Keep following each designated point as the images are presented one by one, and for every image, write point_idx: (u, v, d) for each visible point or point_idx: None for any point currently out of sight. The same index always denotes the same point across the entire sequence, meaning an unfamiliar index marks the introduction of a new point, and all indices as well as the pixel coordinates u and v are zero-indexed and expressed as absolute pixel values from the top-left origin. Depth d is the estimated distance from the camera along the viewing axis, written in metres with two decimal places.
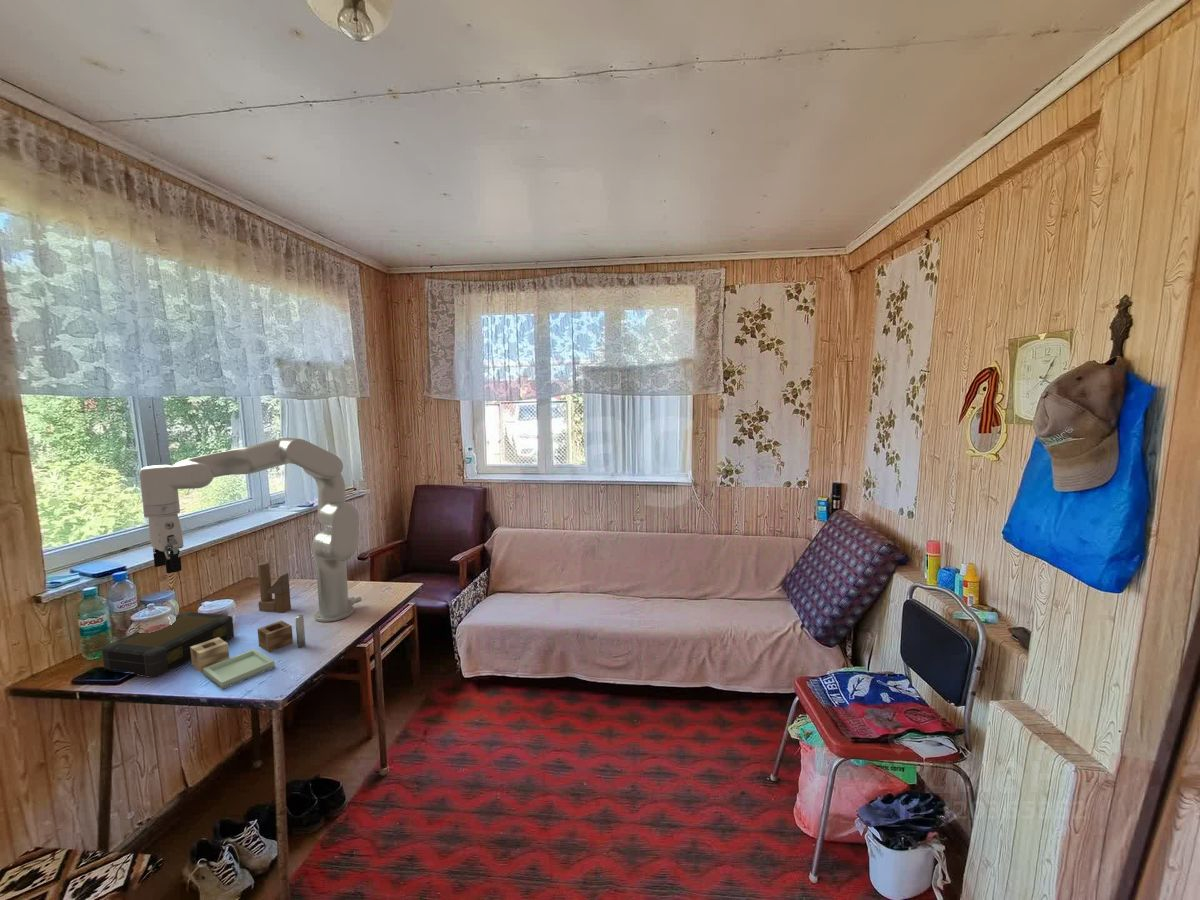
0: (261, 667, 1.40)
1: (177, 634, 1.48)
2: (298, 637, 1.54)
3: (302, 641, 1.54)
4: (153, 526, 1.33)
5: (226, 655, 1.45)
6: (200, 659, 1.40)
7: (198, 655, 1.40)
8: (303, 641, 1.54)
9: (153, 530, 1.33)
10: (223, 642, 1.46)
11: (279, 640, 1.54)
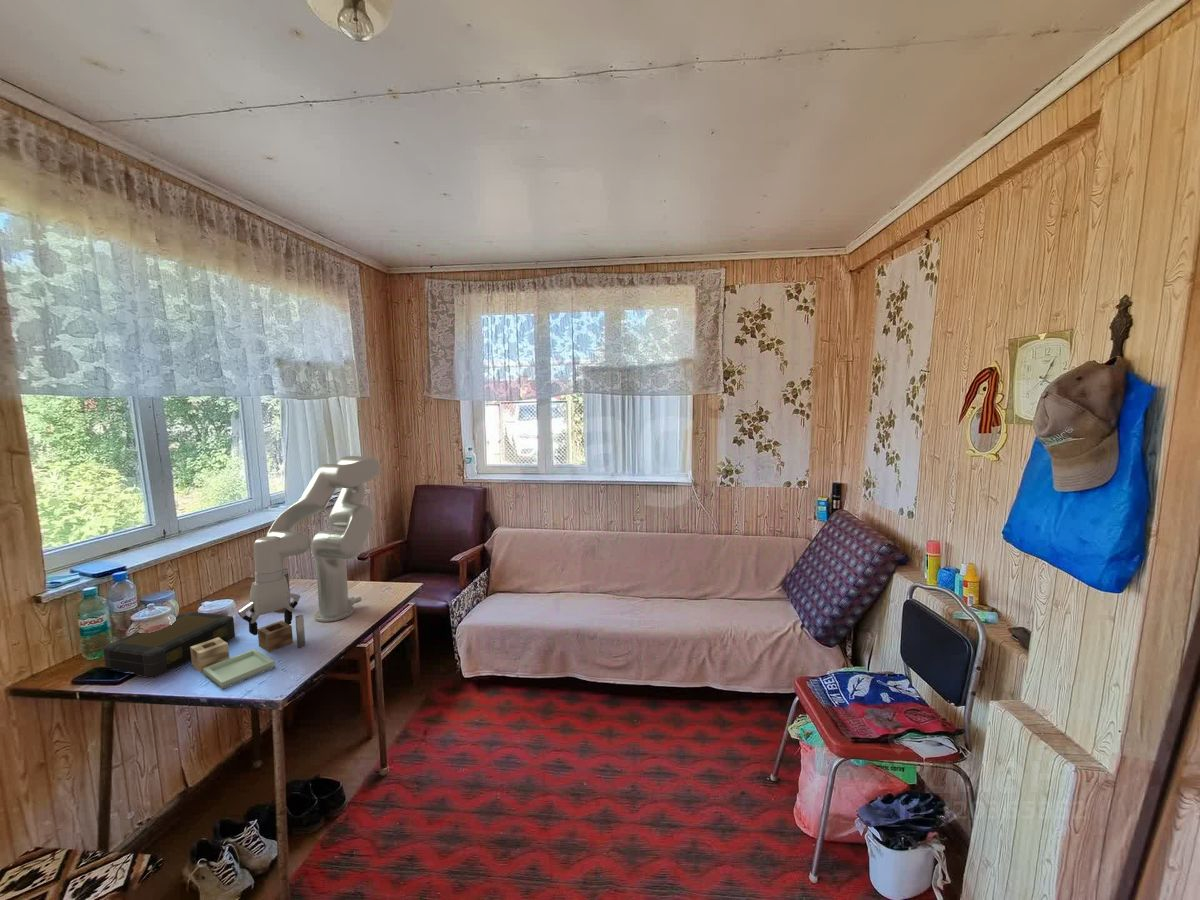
0: (261, 667, 1.40)
1: (177, 634, 1.48)
2: (298, 637, 1.54)
3: (302, 641, 1.54)
4: (278, 589, 1.53)
5: (226, 655, 1.45)
6: (200, 659, 1.40)
7: (198, 655, 1.40)
8: (303, 641, 1.54)
9: (277, 593, 1.53)
10: (223, 642, 1.46)
11: (279, 640, 1.54)
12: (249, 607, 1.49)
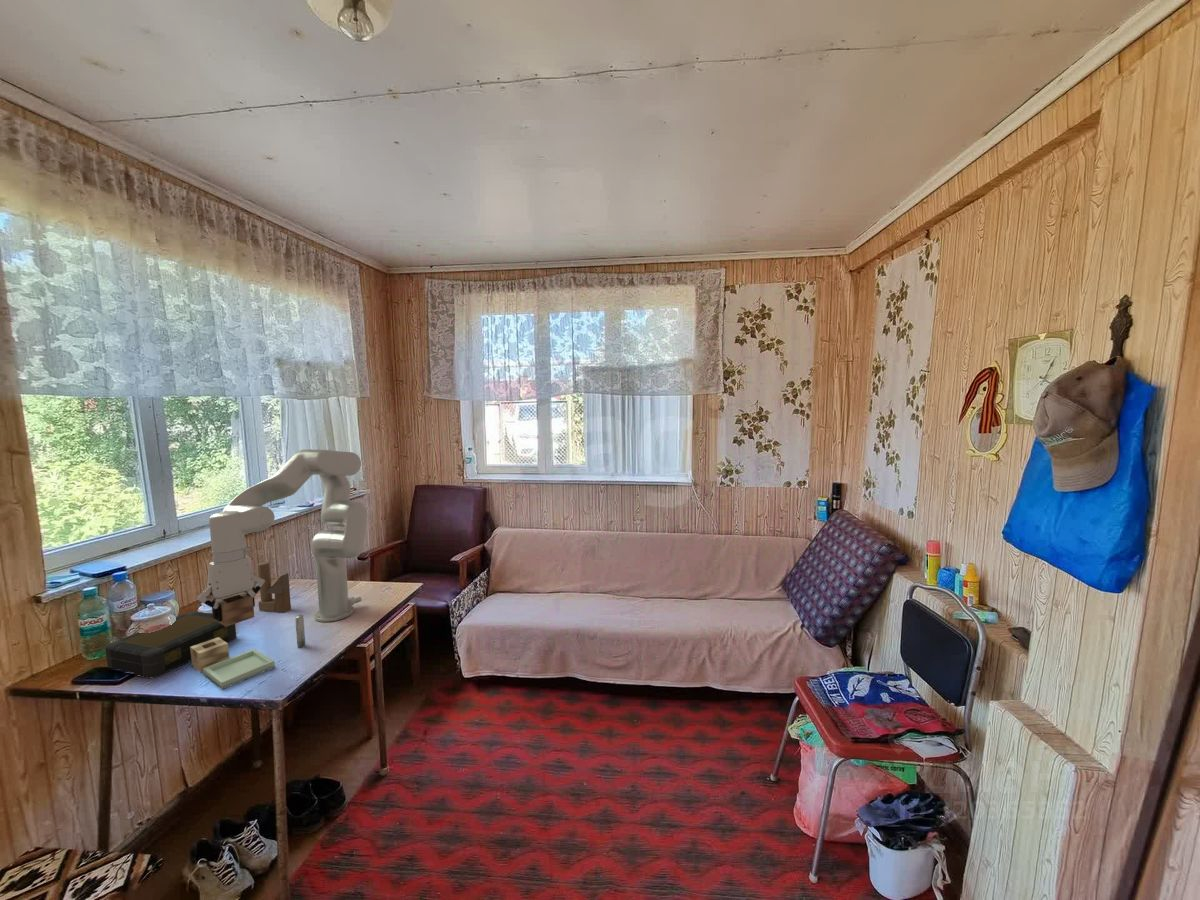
0: (261, 667, 1.40)
1: (177, 635, 1.47)
2: (298, 637, 1.54)
3: (302, 641, 1.54)
4: (239, 569, 1.37)
5: (226, 655, 1.45)
6: (200, 659, 1.40)
7: (198, 655, 1.40)
8: (303, 641, 1.54)
9: (238, 573, 1.37)
10: (223, 642, 1.46)
11: (238, 613, 1.37)
12: (208, 591, 1.33)
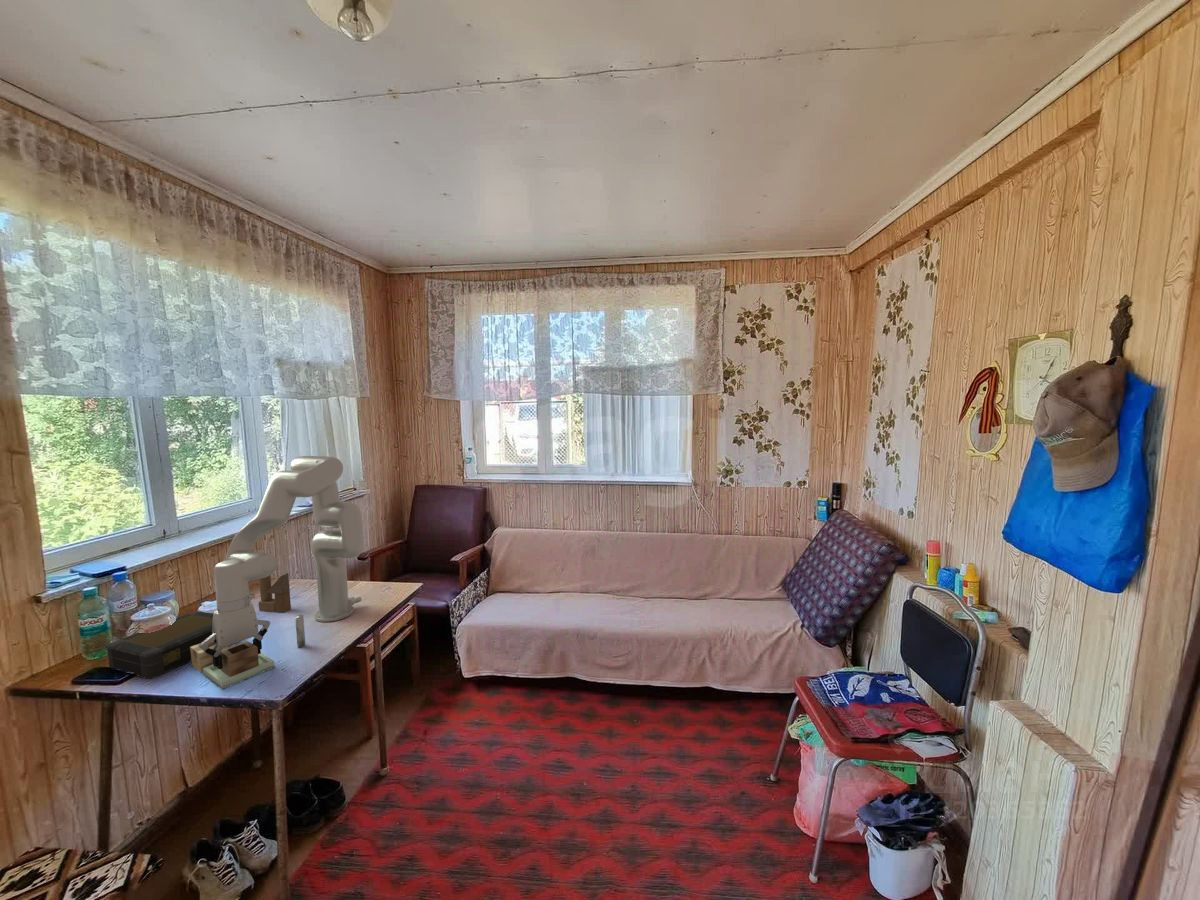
0: (261, 667, 1.40)
1: (177, 635, 1.47)
2: (298, 637, 1.54)
3: (302, 641, 1.54)
4: (243, 617, 1.39)
5: None
6: (200, 659, 1.40)
7: (198, 655, 1.40)
8: (303, 641, 1.54)
9: (242, 621, 1.39)
10: None
11: (243, 663, 1.39)
12: (211, 639, 1.34)
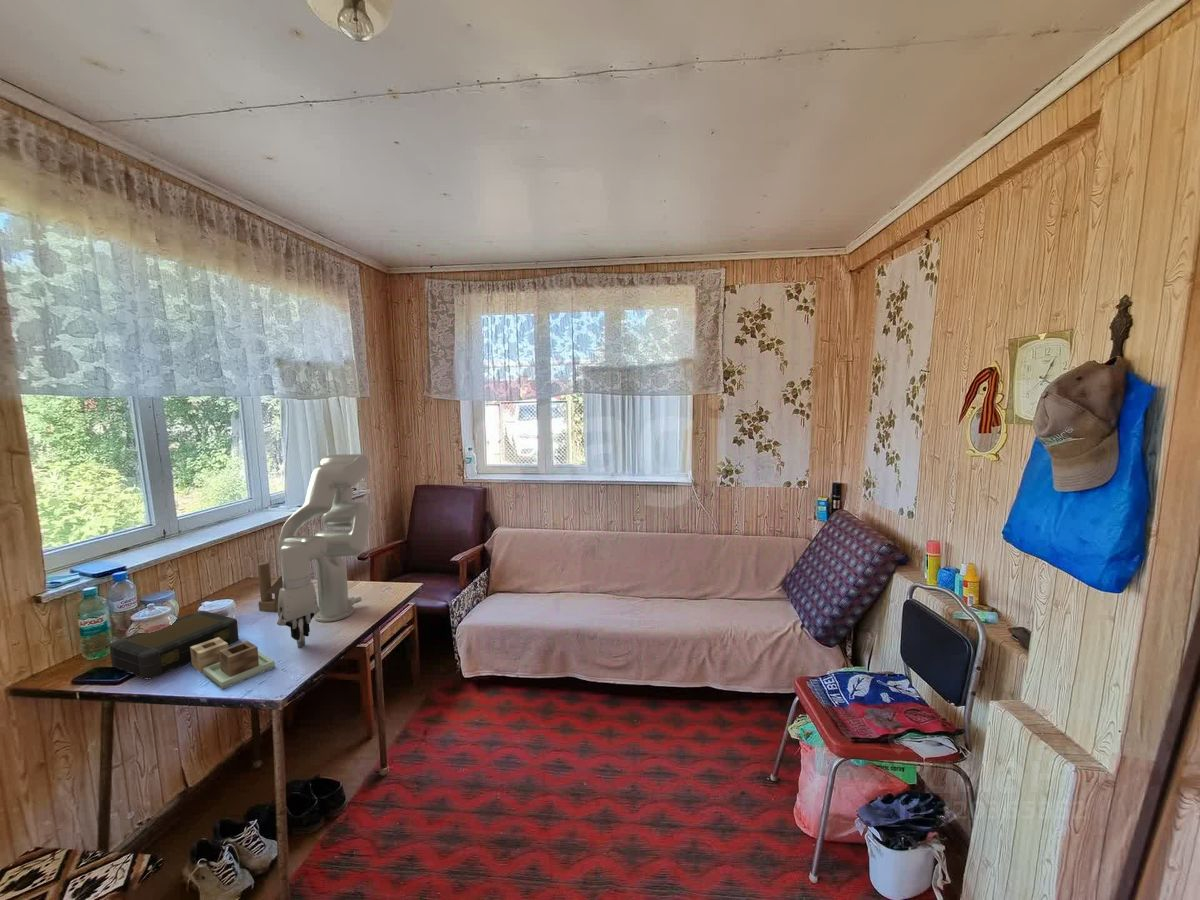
0: (261, 667, 1.40)
1: (178, 635, 1.47)
2: None
3: (302, 641, 1.54)
4: (306, 594, 1.53)
5: None
6: (200, 659, 1.40)
7: (198, 655, 1.40)
8: (303, 641, 1.54)
9: (305, 598, 1.53)
10: (223, 642, 1.46)
11: (243, 663, 1.39)
12: None
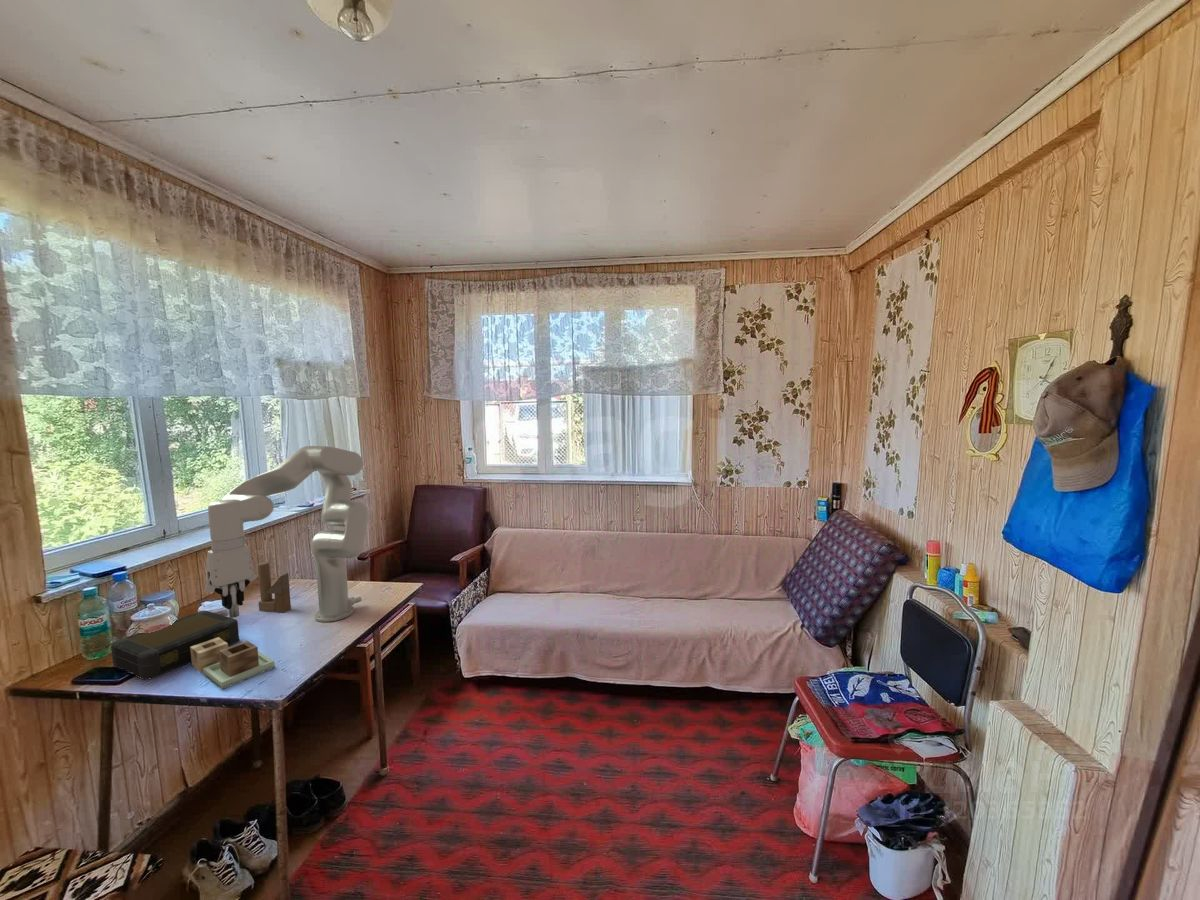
0: (261, 667, 1.40)
1: (178, 636, 1.47)
2: None
3: (235, 610, 1.38)
4: (238, 558, 1.37)
5: None
6: (200, 659, 1.40)
7: (198, 655, 1.40)
8: (236, 610, 1.38)
9: (237, 562, 1.37)
10: (223, 642, 1.46)
11: (243, 663, 1.39)
12: None
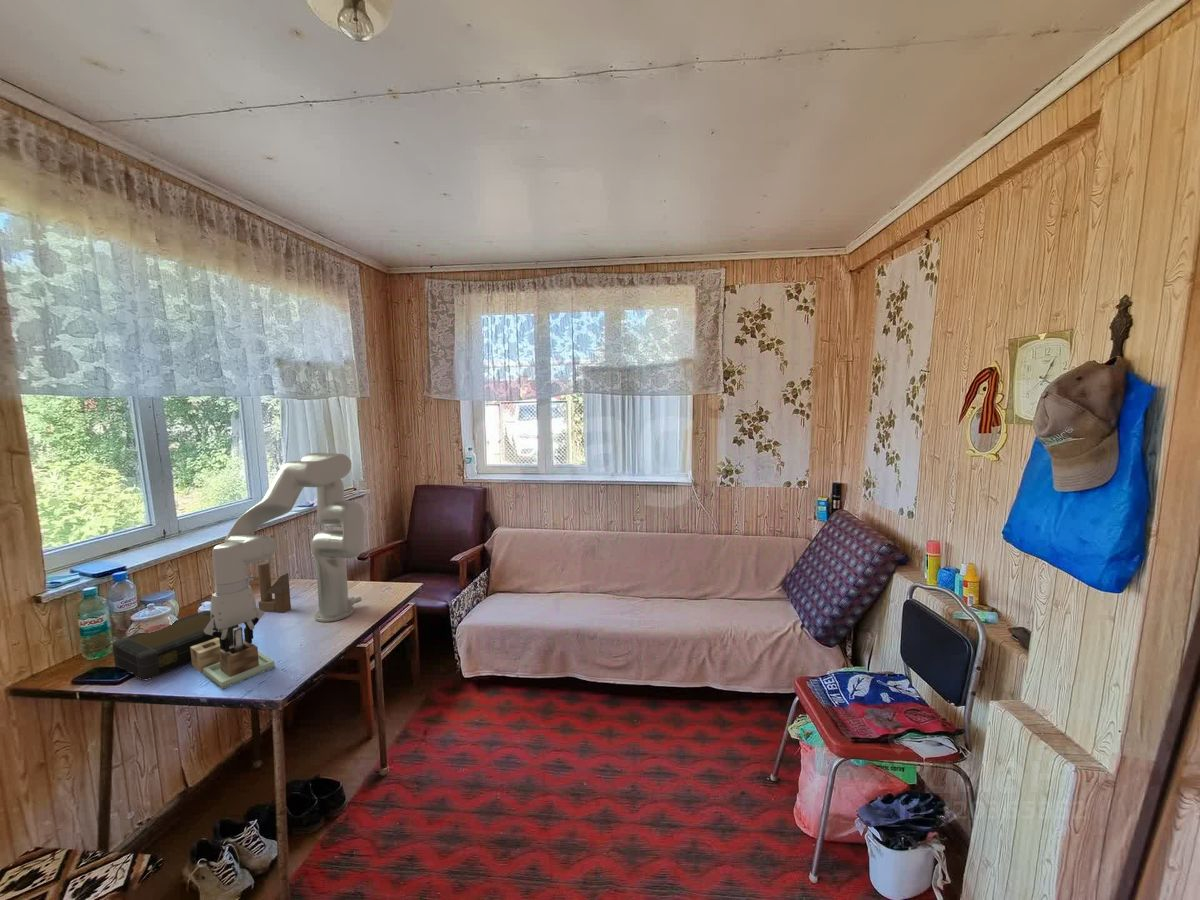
0: (261, 667, 1.40)
1: (178, 636, 1.47)
2: (235, 652, 1.39)
3: None
4: (242, 599, 1.38)
5: None
6: (200, 659, 1.40)
7: (198, 655, 1.40)
8: None
9: (241, 604, 1.38)
10: None
11: (243, 663, 1.39)
12: (213, 623, 1.34)
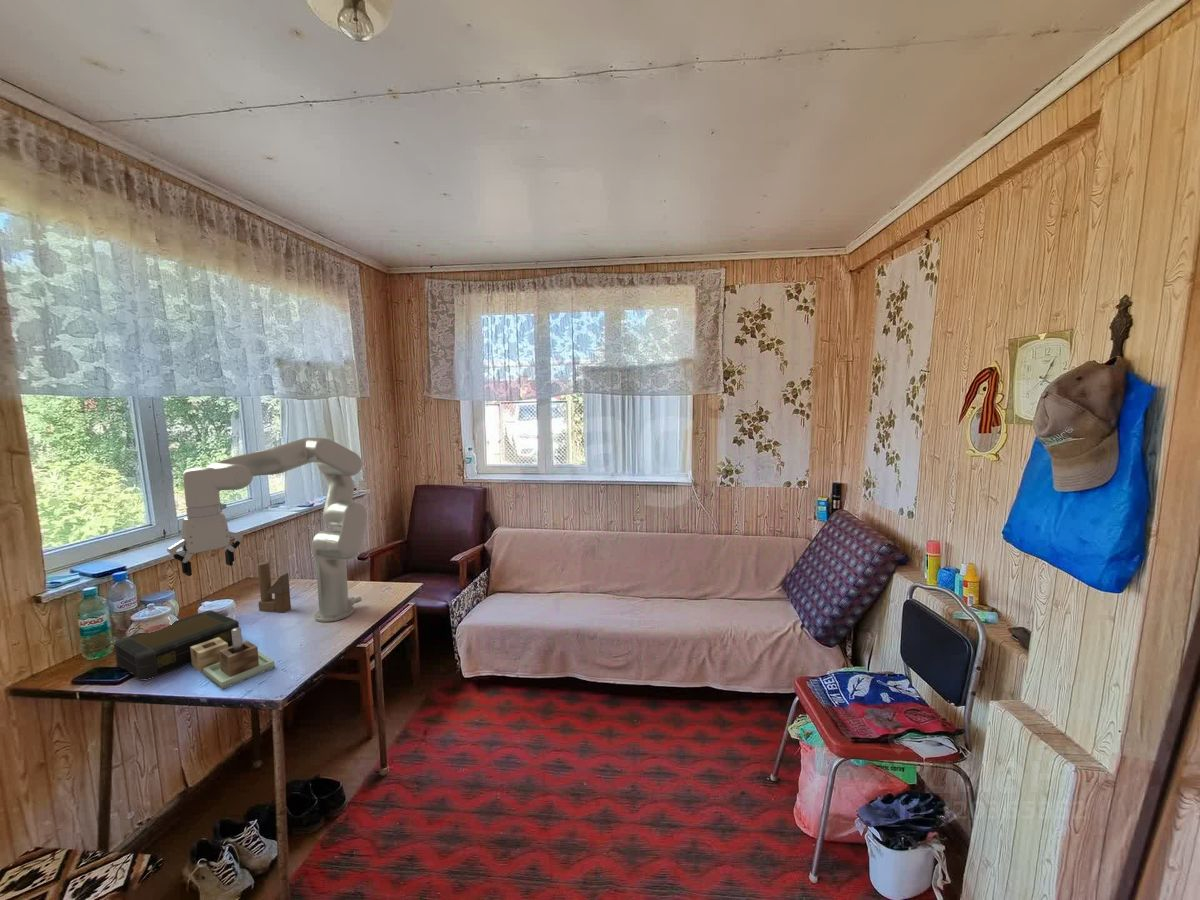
0: (261, 667, 1.40)
1: (178, 636, 1.46)
2: (235, 652, 1.39)
3: None
4: (214, 525, 1.37)
5: None
6: (200, 659, 1.40)
7: (198, 655, 1.40)
8: None
9: (213, 529, 1.37)
10: (223, 642, 1.46)
11: (243, 663, 1.39)
12: (180, 544, 1.32)
